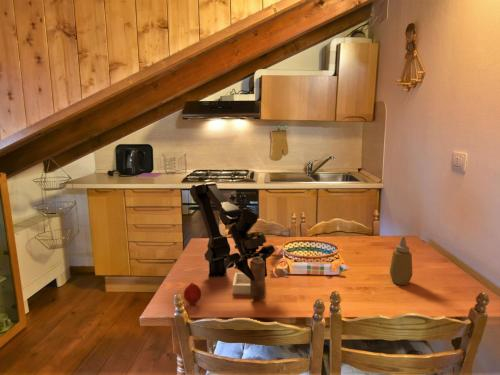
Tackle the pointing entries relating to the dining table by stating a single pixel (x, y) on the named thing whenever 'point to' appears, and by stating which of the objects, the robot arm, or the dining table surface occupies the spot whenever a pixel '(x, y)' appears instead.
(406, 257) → the squeeze bottle
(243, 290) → the tray
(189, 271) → the dining table surface
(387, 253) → the dining table surface
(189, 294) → the onion
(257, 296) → the pepper mill
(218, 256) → the robot arm
